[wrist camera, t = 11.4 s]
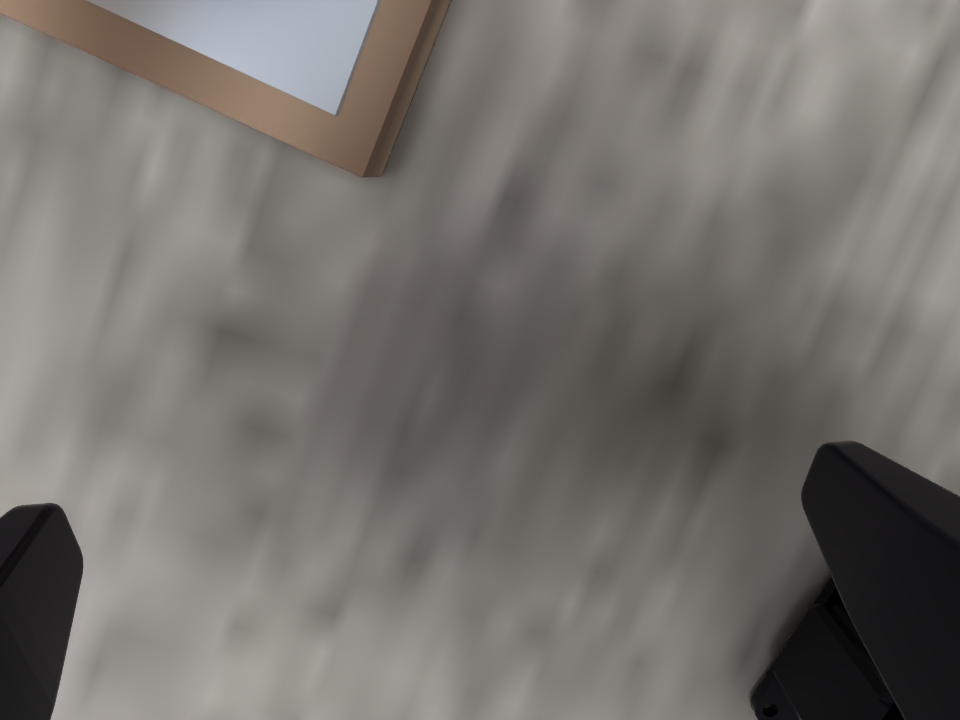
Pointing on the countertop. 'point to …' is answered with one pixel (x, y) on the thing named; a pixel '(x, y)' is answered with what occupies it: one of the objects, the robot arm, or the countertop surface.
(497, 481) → the countertop surface
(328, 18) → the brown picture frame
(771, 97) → the countertop surface
